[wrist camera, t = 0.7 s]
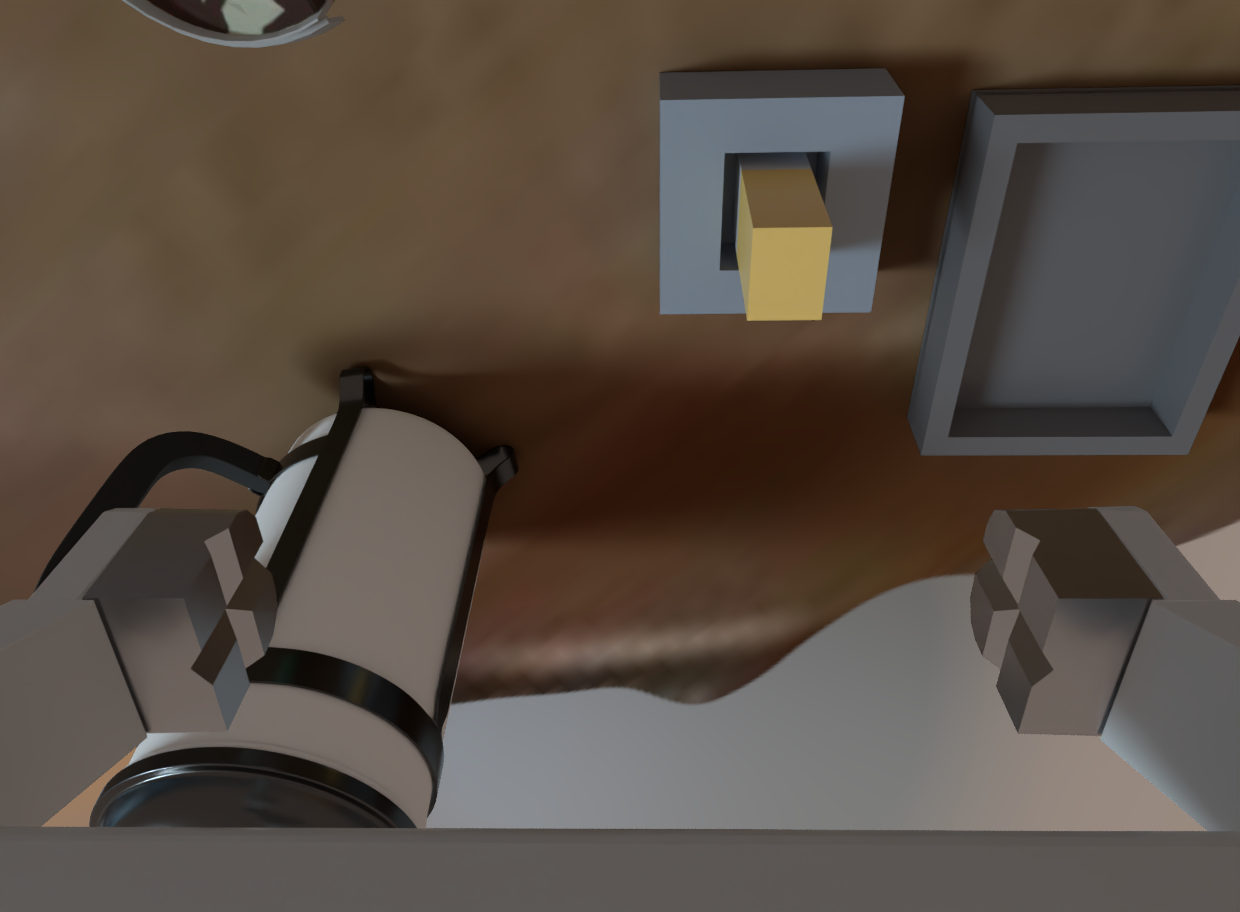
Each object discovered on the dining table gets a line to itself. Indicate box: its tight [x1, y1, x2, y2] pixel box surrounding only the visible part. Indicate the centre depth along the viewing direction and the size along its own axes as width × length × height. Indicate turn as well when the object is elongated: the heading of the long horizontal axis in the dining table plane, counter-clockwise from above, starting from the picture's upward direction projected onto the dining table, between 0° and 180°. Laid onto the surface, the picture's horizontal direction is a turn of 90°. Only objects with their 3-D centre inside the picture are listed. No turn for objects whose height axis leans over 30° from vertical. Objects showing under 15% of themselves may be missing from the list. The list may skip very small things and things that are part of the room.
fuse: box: [732, 152, 833, 321], centre depth 40 cm, size 4×3×9 cm
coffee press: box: [34, 367, 519, 828], centre depth 44 cm, size 17×16×30 cm
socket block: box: [660, 68, 905, 314], centre depth 43 cm, size 10×10×4 cm
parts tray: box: [907, 85, 1240, 455], centre depth 46 cm, size 18×14×4 cm
